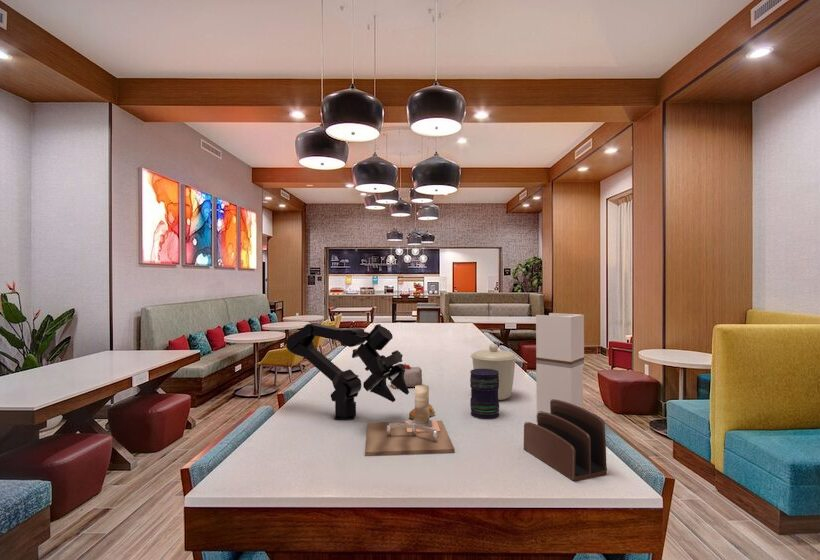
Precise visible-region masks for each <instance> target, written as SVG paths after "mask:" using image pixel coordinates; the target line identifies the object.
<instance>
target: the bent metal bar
mask: <svg viewBox="0 0 820 560" xmlns="http://www.w3.org/2000/svg"><path fill="white" fill-rule="evenodd" d="M391 428H412V436H414V437H415V436H416V429H420V430H423V431H427V432H431V433H433V442H434V443H436V442H437V431H436V429H435V428H431V427H427V426H423V425H420V424H416V423H415V424H414V423H390V424H389V425H387V437H391Z"/></svg>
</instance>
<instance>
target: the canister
mask: <svg viewBox="0 0 820 560" xmlns="http://www.w3.org/2000/svg"><path fill="white" fill-rule="evenodd" d="M470 357H471V359H472V366H473V368H472V370H473V369H493V370H497V371H498V372H499V375H498V376H499V389H498V399H499V401H505V400H507V399H509V398H510V397H511V395H512V393H513V385H514V377H515V366H516V360H517V358H518V356H517V354H514V353H513V352H511V351H507V350H503V349H499V346H498V345H497V344H496V343H490V345H489V346H488V349H481V350H477V351H474V352H473V353H471V354H470Z"/></svg>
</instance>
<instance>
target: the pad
mask: <svg viewBox="0 0 820 560" xmlns="http://www.w3.org/2000/svg"><path fill="white" fill-rule="evenodd" d="M412 420H413V419H412ZM412 420H405V421H404V422H405V423H412ZM431 420H432V427H431V428H435V429H436V431H437V433H438V432H440V428H439V426H438V423H437V421H438V420H437V419H431ZM406 430H407V433H412V428H406ZM416 433H431V432H427V431H423V430H420V429H416Z"/></svg>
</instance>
